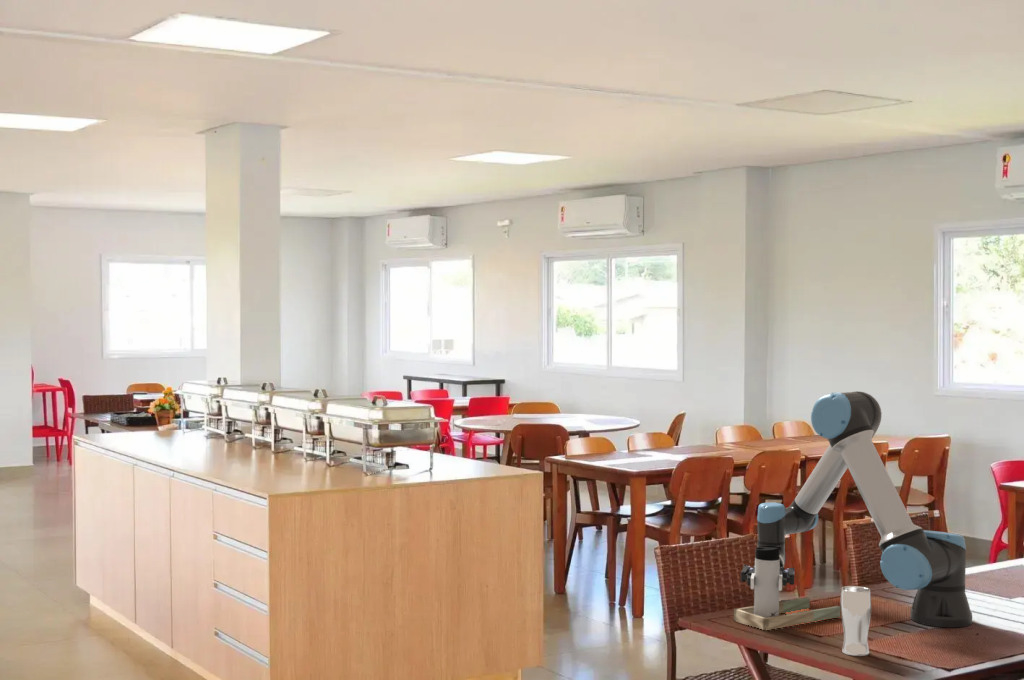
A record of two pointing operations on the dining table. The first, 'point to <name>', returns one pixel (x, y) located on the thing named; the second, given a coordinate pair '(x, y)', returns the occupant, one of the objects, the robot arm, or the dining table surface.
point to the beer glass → (855, 619)
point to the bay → (763, 623)
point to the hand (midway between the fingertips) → (766, 584)
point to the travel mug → (767, 581)
